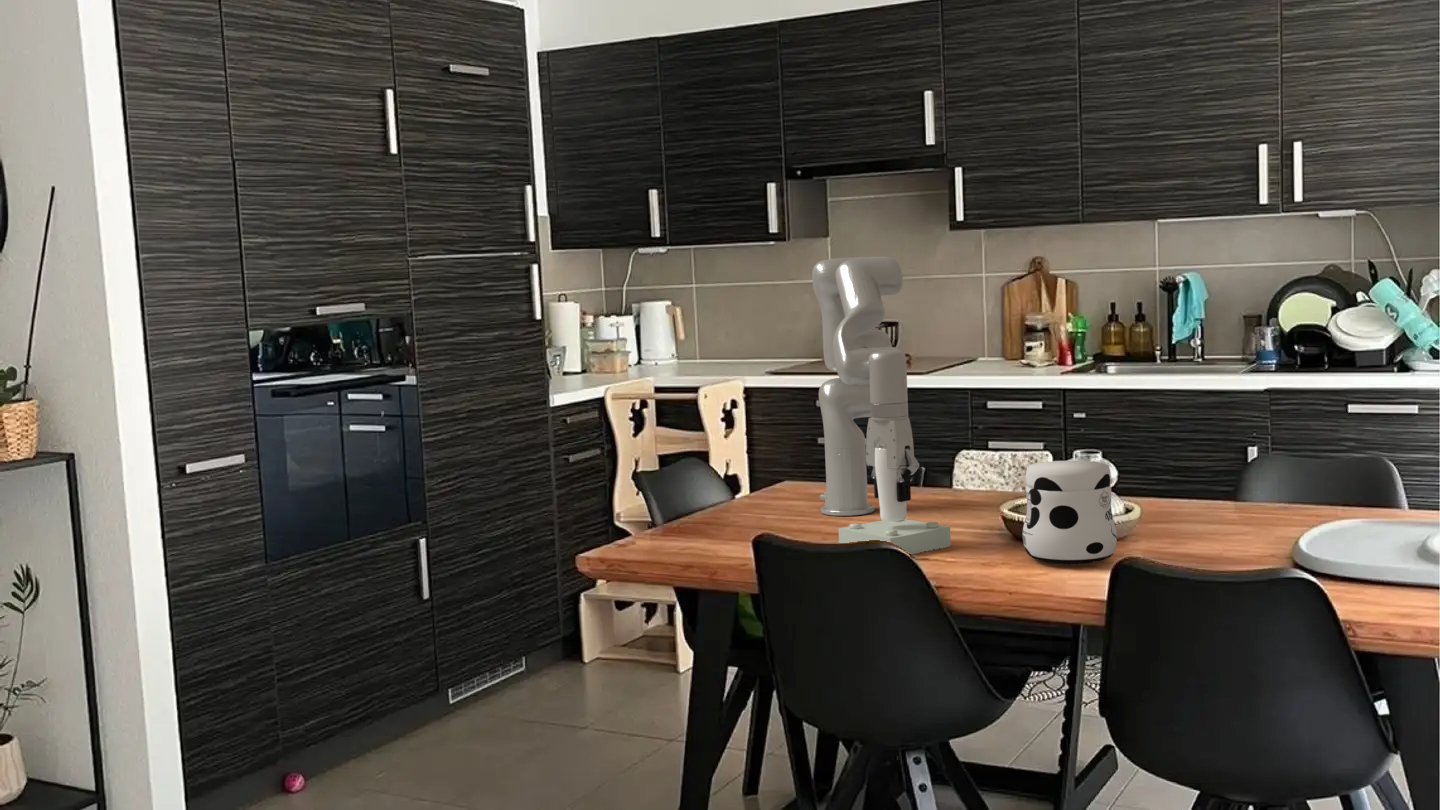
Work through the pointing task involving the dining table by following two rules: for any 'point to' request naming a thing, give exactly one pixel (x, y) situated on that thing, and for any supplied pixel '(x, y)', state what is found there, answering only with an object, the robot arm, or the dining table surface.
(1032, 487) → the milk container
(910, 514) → the dining table surface
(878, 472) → the drinking glass
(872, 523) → the brick riser
